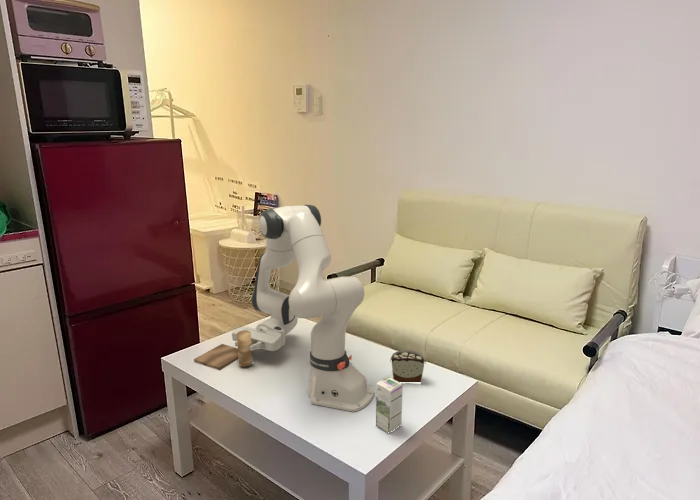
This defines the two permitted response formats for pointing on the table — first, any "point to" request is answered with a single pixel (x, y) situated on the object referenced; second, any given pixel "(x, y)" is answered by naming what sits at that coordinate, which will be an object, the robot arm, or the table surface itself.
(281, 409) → the table surface
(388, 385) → the syrup box
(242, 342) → the oak roller
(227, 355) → the board
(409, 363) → the muffin
